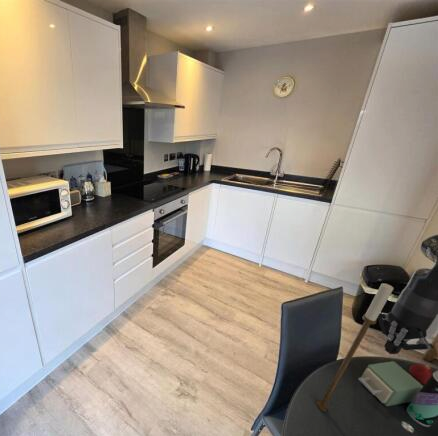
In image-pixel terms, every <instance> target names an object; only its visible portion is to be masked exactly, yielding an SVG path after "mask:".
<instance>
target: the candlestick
mask: <svg viewBox="0 0 438 436" xmlns="http://www.w3.org/2000/svg"><path fill="white" fill-rule="evenodd" d="M365 314H366V313H364V314H363V316H362V320H363V321H364V322H363V324H362V325H361V327H360V329H359V330H358V332H357V335H356V337H355V338H354V340H353V342H352V343H351V345H350V347H349V350H348V352H347V353H346V355H345V357H344V359H343V360H342V362H341V364H340V366H339V368H338V370H337V372H336V374H335V375H334V377H333V379H332V381H331V383H330V385H329V387H328V388H327V390H326V392H325V393H324V397H323V398H322V399H321V400H318V401H317V402H316V407H317V408H318V409H319V410H320V411H321V412H327V410H328V405H327V404H328V402H329V401H330V398H331V397H332V395H333V393H334V391H335V389H336V387H337V386H338V384H339V382H340V381H341V379H342V376H343V375H344V373H345V371H346V370H347V367H348V365H349V364H350V362H351V360H353V359H352V358H353V357H354V355H355V353H356V352H357V350H358V348H359V346H360V344H361V343H362V340H363V339H364V337H365V335H366V333H367V332H368V330H369V328H370V326H371V325H373V326H374V325H375V324H376V323H377V320H378V319H376V321H372V320H369V319H367V318H366V317H365Z"/></svg>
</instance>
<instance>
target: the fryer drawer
mask: <svg viewBox="0 0 438 436" xmlns="http://www.w3.org/2000/svg"><path fill="white" fill-rule="evenodd" d="M358 381H359V382H360V383H361V384H362V385H363V386H364V387H365V388H366V389H367V390H368V391H369V392H370V393H371V394H372V395H373V396H375V397H376V398H377V400H379V401H380V402H381V404H384V403H386V401H387V400H388V398H389V397H390V396H391V394H392V393H393V390H392V389H391V388H390V387H389V386H388V385H387V384H386V383H385V382H384V381H383V380H382V379H381V378H380V377H379V376H377V375H376V374H375V373H374V372H372V371H371V370H370V369H369V368H368V369H366V368H365V370H364V372H363V373H362V375H361V377H359V378H358Z"/></svg>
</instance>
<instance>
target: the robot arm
mask: <svg viewBox="0 0 438 436" xmlns="http://www.w3.org/2000/svg"><path fill="white" fill-rule="evenodd" d="M419 249H420V252H421V254H422V255H423V256H424V257H426V258H427V259H428V260H430V261H432V262H433V263H434V265H433V266H432V267H431V268H427V267H422V268H418V269H416V270H415V271H414V272H413V274H412V275H411V277H410V278H409V281H408V282H407V284H406V286H405V287H404V289H402V291H401V293H400V294H399V295H398V298H397V299H396V302H395V303H394V305H393V307H392V309H391V311H389V312H388V313H387V312H380V314H379V316H378V317H377V320H378V324H379V326H380V330H381V334H383V335H385V336H386V337H387V340H386V342H385V344H384V351H386V352H387V353H388V354H389V355H397V354H399V353H400V352H401V350H404V351H422V350H425V351H426V350H431V349H434V345H433V344H432V343H430V342H429V341H428V340H427V331H428V329H429V328H430V327H431V325H432V324H433V323H434V321H435V320H436V318H437V316H438V234H437V233H436V234H434V235H430V236H428V237H426V238H424V240H423V241H422V242H421V243H420V245H419ZM417 339H418V340H417ZM411 340H417V341H416V343H408V342H409V341H411Z"/></svg>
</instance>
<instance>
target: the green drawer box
mask: <svg viewBox="0 0 438 436" xmlns="http://www.w3.org/2000/svg"><path fill="white" fill-rule="evenodd" d="M368 368H369V369H370V370H371V371H372V372H374V373H375V374H376V375H377V376H379V377H380V378H381V379H382V380H383V381H384V382H385V383H386V384H387V385H388V386H389V387H390V388H391V389H392V390H393V393H392V394H391V396H390V397H389V398H388V400H387V401H386V403H383V405H384V406H385V407H391V406H397V405H400V404H406V403H411V402H412V401H413V399H414V398H415V397H416V395H417V394H418V393H419V391H420V390H421V389H422V388H423V386H424V385H423V384H422V383H419V382H418V381H417V380H415V379H414V378H413V377H412V376H411V375H410V373H409V372H407V371H406V370H405V369H403V367H402V366H400V365H399V364H398V363H397V362H396V361H394V360H392V361H385V362H378V363H372V364H368V365H367V367H366V368H365V370H366V369H368Z"/></svg>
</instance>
